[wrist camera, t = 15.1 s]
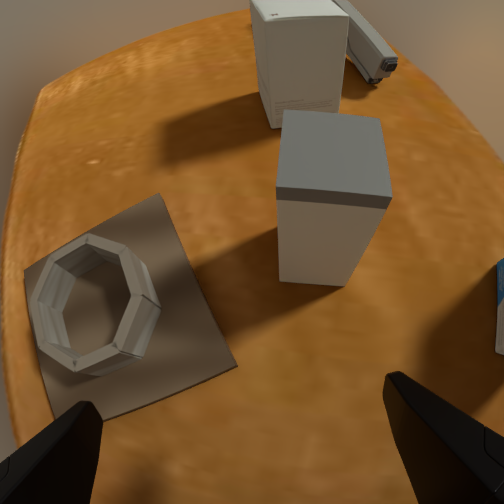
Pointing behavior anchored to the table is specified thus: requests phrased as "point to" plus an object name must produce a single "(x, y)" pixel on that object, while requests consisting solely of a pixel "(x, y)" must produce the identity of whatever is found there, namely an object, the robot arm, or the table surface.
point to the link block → (328, 194)
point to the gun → (367, 46)
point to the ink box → (500, 308)
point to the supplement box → (299, 55)
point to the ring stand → (122, 316)
